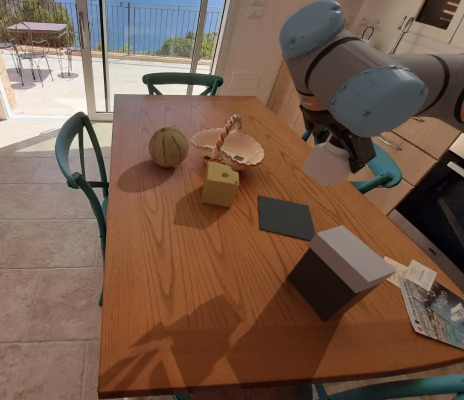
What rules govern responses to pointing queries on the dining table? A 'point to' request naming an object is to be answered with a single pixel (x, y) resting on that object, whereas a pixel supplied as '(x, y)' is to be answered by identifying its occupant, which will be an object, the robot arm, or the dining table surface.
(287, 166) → the dining table surface
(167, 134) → the cantaloupe
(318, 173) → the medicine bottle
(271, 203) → the mat
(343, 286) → the lidded grey box
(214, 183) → the cheese
